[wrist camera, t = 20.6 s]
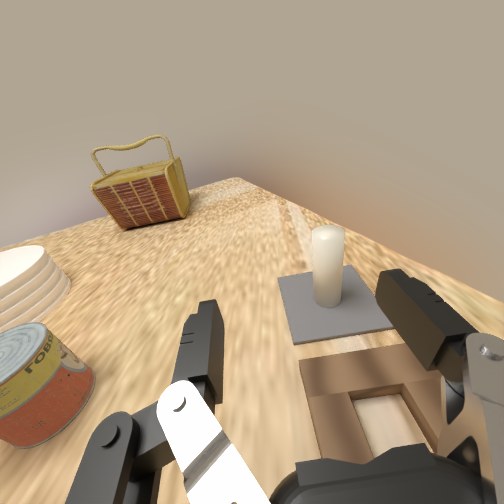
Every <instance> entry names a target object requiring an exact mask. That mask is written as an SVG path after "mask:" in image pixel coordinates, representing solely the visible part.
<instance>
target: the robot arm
mask: <svg viewBox="0 0 504 504" xmlns="http://www.w3.org/2000/svg"><path fill="white" fill-rule="evenodd" d="M375 298H376V302H377V304H378V306H379V307H380V309H381V310H382V312H383V313H384V314H385V316H386V317H387V318H388V320H389V321H390V322H391V324H392V325H393V327H394V328H395V329H396V331H397V332H398V333H399V335H400V336H401V337H402V339H403V340H404V341H405V343H406V344H407V346H408V347H409V348H410V350H411V351H412V352H413V354H414V355H415V356H416V358H417V359H418V361H419V362H420V363H421V365H422V366H423V367H424V369H425V370H426V371H433V370H439V371H440V373H441V374H442V377H441V410H442V429H441V434H440V437H439V441H438V448H437V454H434V453H431V452H430V451H429V450H428V448H427V446H426V444H425V443H420V444H414V445H407V446H401V447H394V448H391V449H390V450H388V451H386V452H385V453H383V454H381V455H380V456H378V457H376V458H375V459H373V460H371V461H370V462H368V463H366V464H357V463H351V462H346V461H341V460H335V459H330V458H323V459H317V460H310V461H304V462H297V463H295V464H296V471H294V472H292V473H291V474H289V475H288V476H287V477H286V478H285V479H283V480H282V482H281V483H280V484H279V485H278V486H277V487H276V489H275V490H274V492H273V493H272V495H271V497H270V499H269V500H268V499H267V497H266V496H265V494H264V492H263V491H262V489H261V488H260V486H259V485H258V483H257V482H256V480H255V479H254V477H253V476H252V474H251V472H250V471H249V469H248V468H247V466H246V465H245V463H244V462H243V460H242V459H241V457H240V456H239V454H238V452H237V451H236V449H235V448H234V446H233V445H232V443H231V442H230V440H229V439H228V437H227V436H226V434H225V433H224V431H223V430H222V428H221V427H220V425H219V424H218V422H217V421H216V419H215V417H214V414H215V404H221V403H222V400H223V366H224V322H223V318H222V315H221V313H220V310H219V307H218V304H217V301H216V300H215V299H213V300H208V301H202V302H200V303H199V307H198V313H197V314H191V315H190V316H189V318H188V319H187V321H186V322H185V324H184V327H183V332H182V337H181V341H180V346H179V351H178V355H177V360H176V365H175V369H174V374H173V379H172V382H171V384H170V386H169V387H168V388H167V389H166V390H165V392H164V393H163V394H162V396H161V398H160V399H159V400H158V401H157V402H155V403H153V404H152V405H150V406H148V407H146V408H144V409H142V410H140V411H138V412H137V413H135V414H133V415H131V416H130V415H129V414H128V413H126V412H122V411H121V412H116V413H113V414H111V415H110V416H108V417H107V418H105V419H104V420H103V421H102V422H101V423H100V424H99V425H98V426H97V428H96V429H95V430H94V432H93V433H92V435H91V437H90V439H89V442H88V444H87V447H86V450H85V452H84V455H83V457H82V460H81V463H80V465H79V468H78V471H77V473H76V476H75V479H74V481H73V484H72V486H71V489H70V492H69V494H68V497H67V500H66V502H65V504H157V499H158V492H159V485H160V478H161V471H162V467H164V466H165V465H167V464H168V463H170V462H172V461H173V460H175V459H177V461H178V464H179V466H180V468H181V470H182V473H183V476H184V486H185V489H186V492H187V495H188V497H189V500H190V502H191V504H504V340H502V339H500V338H498V337H496V336H493V335H490V334H486V333H480V332H478V331H477V330H476V329H475V328H474V327H473V326H472V325H470V324H469V323H468V322H467V321H466V320H465V319H464V318H463V317H462V316H461V315H460V314H458V313H457V312H456V311H455V310H454V309H453V308H452V307H451V306H450V305H449V304H447V303H446V302H444V300H443V299H442V298H441V297H440V296H439V295H436V293H435V292H434V291H433V290H432V289H431V288H430V287H429V286H428V285H427V284H425V283H423V282H421V281H420V280H418V279H416V278H414V277H412V278H410V277H409V276H408V275H407V274H406V273H405V272H404V271H402V270H401V269H392V270H386V271H382V272H380V275H379V279H378V284H377V288H376V293H375Z"/></svg>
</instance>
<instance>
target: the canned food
mask: <svg viewBox="0 0 504 504" xmlns="http://www.w3.org/2000/svg"><path fill="white" fill-rule="evenodd" d="M94 385H95V373H94V371H93V370H92V369H91V368H90V367H88V366H87V365H86V364H85V363H84V362H82V361H81V360H80V359H79V358H78V357H77V356H76V355H75V354H74V353H73V352H72V351H71V350H70V349H68V348H67V347H66V346H65V345H64V344H63V343H62V342H61V341H60V340H59V339H58V338H57V337H56V336H55V335H53V334H52V333H51V332H50V331H49V330H48V329H47V327H46V326H45V325H44V324H42V323H39V322H31V323H26V324H22V325H19V326H16V327H13V328H11V329H8V330H6V331H4V332H2V333H0V439H2V440H4V441H7V442H9V443H11V444H12V445H13V446H15V447H17V448H21V449H25V448H31V447H34V446H37V445H39V444H42V443H43V442H45V441H47V440H49V439H50V438H52V437H53V436H55V435H56V434H58V433H59V432H60V431H61V430H63V429H64V428H65V427H66V426H67V425H68V424H69V423H70V422H71V421H72V420H73V419H74V418H75V417H76V416H77V415H78V414H79V412H80V411H81V410H82V409H83V407H84V406H85V404H86V403H87V401H88V399H89V398H90V396H91V394H92V391H93V389H94Z"/></svg>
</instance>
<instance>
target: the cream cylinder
mask: <svg viewBox="0 0 504 504" xmlns="http://www.w3.org/2000/svg"><path fill="white" fill-rule="evenodd" d="M311 239H312V266H313V293H314V301H315V302H316V304H318V305H319V306H321V307H324V308H333V307H336V306H338V305H339V304H340V302H341V291H342V274H343V257H344V240H345V231H344V229H342V228H341V227H339V226H335V225H323V226H319V227H316V228H315V229H313V230H312V232H311Z"/></svg>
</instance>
